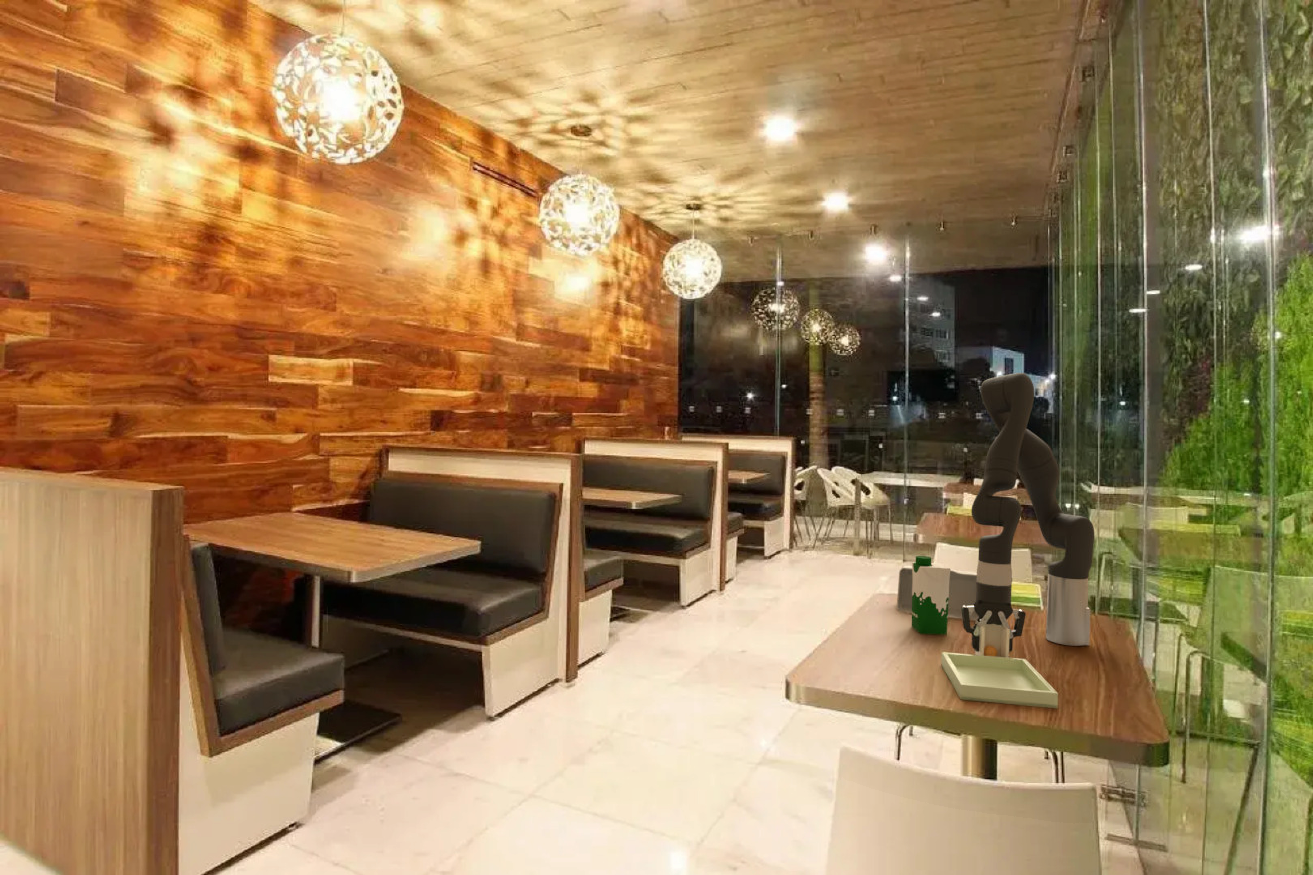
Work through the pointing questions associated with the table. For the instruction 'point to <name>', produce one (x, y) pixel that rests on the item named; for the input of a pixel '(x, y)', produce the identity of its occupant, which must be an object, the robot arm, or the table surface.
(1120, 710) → the table surface
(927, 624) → the milk carton
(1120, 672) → the table surface
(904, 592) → the grey rectangular box
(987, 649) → the mixing ball
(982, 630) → the mini side table
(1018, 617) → the robot arm
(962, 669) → the tray
